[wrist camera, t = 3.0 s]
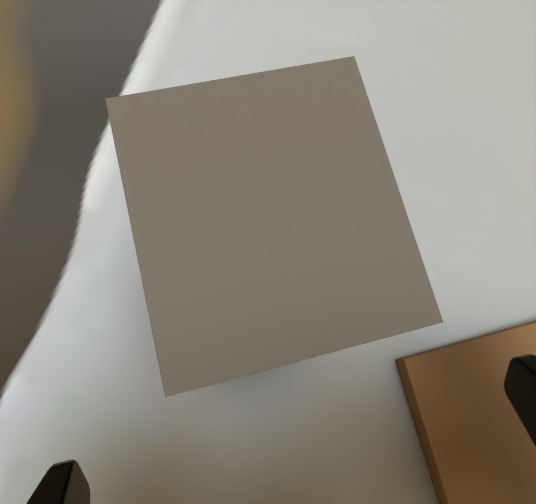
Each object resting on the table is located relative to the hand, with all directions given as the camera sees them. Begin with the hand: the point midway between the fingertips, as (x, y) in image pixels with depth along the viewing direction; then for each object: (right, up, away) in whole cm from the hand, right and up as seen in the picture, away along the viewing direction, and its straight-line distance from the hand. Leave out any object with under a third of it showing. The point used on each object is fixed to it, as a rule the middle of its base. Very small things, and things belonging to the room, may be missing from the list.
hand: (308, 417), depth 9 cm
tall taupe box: (-2, +1, +11) cm, 11 cm away
